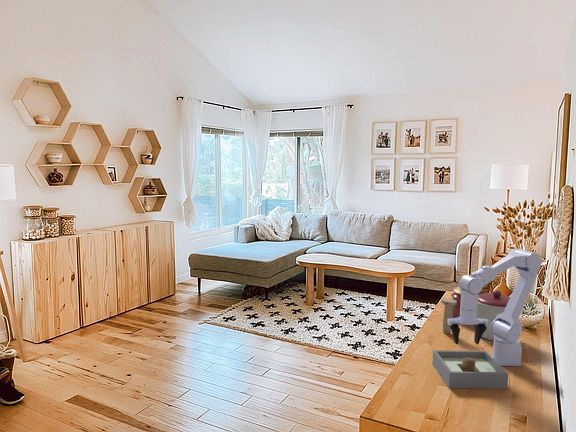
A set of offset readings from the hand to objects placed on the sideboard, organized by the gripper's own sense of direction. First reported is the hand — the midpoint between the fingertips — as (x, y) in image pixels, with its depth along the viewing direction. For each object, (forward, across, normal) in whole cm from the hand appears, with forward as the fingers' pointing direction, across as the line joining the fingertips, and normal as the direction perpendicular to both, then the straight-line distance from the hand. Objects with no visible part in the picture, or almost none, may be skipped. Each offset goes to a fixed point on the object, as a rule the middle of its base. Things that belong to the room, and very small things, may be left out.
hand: (466, 343), depth 173 cm
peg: (+9, +2, +7) cm, 12 cm away
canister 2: (+10, -24, -29) cm, 39 cm away
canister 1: (+10, -19, -50) cm, 54 cm away
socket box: (+9, +2, +7) cm, 12 cm away
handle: (+10, -5, -33) cm, 35 cm away
